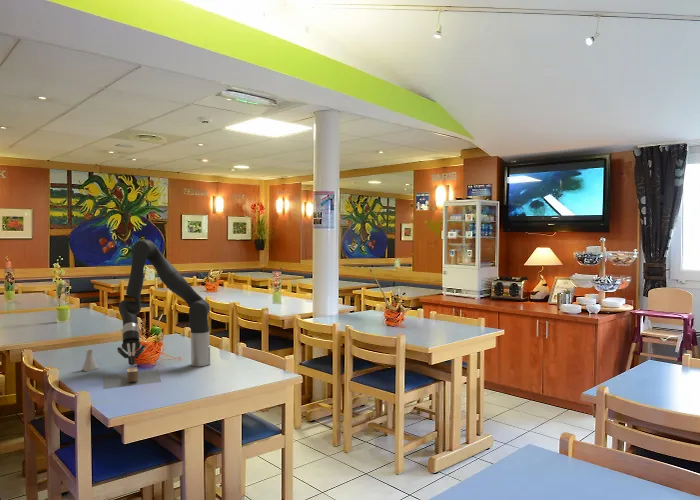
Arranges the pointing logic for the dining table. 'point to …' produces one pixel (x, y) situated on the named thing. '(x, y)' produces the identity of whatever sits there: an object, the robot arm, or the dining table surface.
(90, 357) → the flask
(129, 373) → the maple block
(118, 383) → the rubber mat
